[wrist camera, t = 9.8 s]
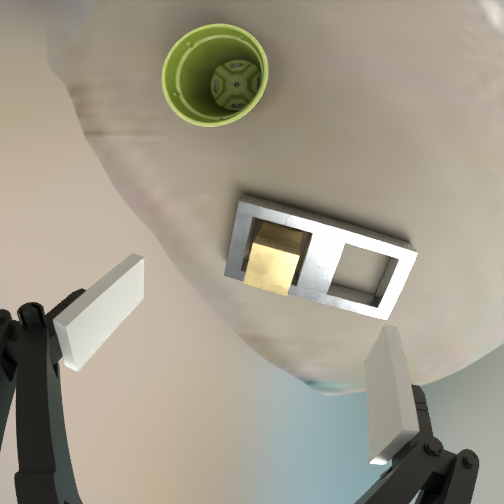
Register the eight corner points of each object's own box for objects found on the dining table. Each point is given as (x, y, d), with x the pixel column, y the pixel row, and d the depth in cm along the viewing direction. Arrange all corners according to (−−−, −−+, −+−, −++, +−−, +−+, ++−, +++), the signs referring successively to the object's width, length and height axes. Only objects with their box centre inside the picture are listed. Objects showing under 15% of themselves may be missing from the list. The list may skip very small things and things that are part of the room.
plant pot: (198, 129, 33) (164, 132, 25) (194, 52, 29) (159, 35, 22) (282, 124, 31) (271, 122, 23) (277, 42, 28) (264, 16, 20)
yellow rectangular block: (264, 220, 36) (252, 242, 29) (302, 231, 35) (299, 256, 29) (256, 255, 38) (243, 283, 31) (292, 266, 37) (286, 295, 31)
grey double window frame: (245, 195, 35) (239, 201, 32) (410, 243, 33) (417, 253, 30) (230, 264, 39) (224, 275, 36) (382, 306, 37) (386, 320, 34)
